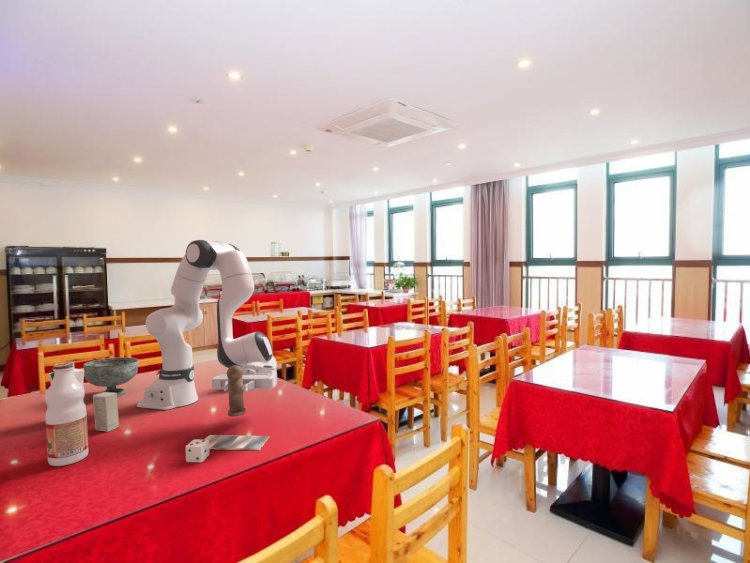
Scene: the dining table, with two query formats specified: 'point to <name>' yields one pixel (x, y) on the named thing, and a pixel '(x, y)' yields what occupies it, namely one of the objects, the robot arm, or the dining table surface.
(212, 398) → the dining table surface
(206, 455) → the die
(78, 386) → the fruit juice
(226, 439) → the board
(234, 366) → the pawn
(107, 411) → the skincare box
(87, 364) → the bowl
